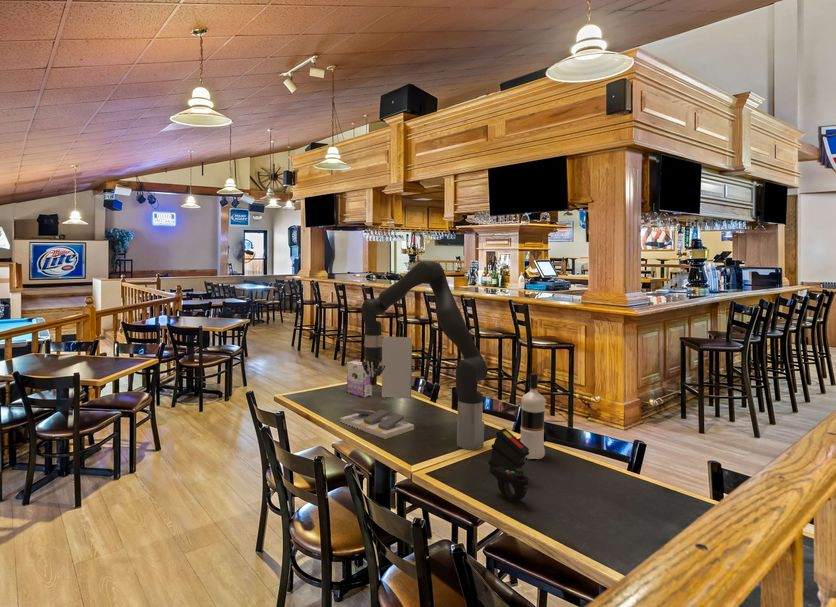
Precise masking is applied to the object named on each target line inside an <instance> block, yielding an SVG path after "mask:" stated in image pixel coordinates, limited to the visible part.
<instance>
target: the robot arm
mask: <svg viewBox="0 0 836 607" xmlns="http://www.w3.org/2000/svg"><path fill="white" fill-rule="evenodd" d="M420 285H429V287H430V289H431V291H432V293H433V295H434V297H435V315H436V318H437V322H438V323H439V326H440V328H441V331H442V332H443V334H444V335H445V336H446V338H448V339H449V340H450V341H451V342H452V343H453V344H454V345H455V346H456V348H457V349H459V351H460V353H461V355H462V358H463V359H462V360H461V359H460V360H459V362H458V363H457V364H456V368H455V391H456V394H457V425H456V426H457V428H456V429H457V430H456V432H457V433H456V446H457V447H458V448H461V449H465V450H473V451H476V450H478V449H480V448H482V446H483V447H484V446H485V421H484V420H483V402H484V401H483V400H484V396H483V393H482V392H481V391H478V388H477V387H478V386H477V382H481V381H483V380H485V379H486V378H487V375H488V366H487V363H486V361H485V358H484V357H483V356H482V353H481V352H480V350H479V348H478V347H477V345H476V343H475V341H474V339H473V337H472V336H471V335H472V334H471V333H470V331H469V329H468V326H467V324H466V321H465V319H464V317H463V315H462V312H461V310H460V308H459V307H458V305H457V302H456V299H455V297H454V295H453V293H452V291H451V289H450V285H449V283H448V280H447V276H446V272H445V270H444V268H443V266H442V265H441V264H440V263H439V262H437V261H434V260H426V259H425V260H422V261H419V262H418V263H417V264H416V265H414V266H413V267H412V268H410V270H409V271H408V272H407V273H405V275H403V276H402V277H401V278H400V279H399V280H397V281H396V282H395V283H393V284H391V285H390V286H389V287H387V288H385V289H383V291H381V292H380V293H379V295H378V297H376V298H368V299H365V300H364V301H363V302H362V304H361V309H360V310H361V315H362V318H363V322H364V357H365V358H364V359H365V361H363V362H362V361H361V362H362V365H363V367H364V370H365V372H366V374H368V375H369V376H370V385H372V387H373V386H376V385H377V383H378V379H377V378H378V377H379V376H382V372H383V370H384V368H385V365H382V338H383V337H382V332H383V331H382V322H380V321H379V320H377V317H376V316H379V315H381V314H383V313H385V312H386V311H387V310H388V309H389V308H391V306H393V305H395V304H396V303H398V302H400V301H401V300H403V298H405V297H406V295H407V294H408V292H410V290H411V289H414V288H415V287H417V286H420ZM367 369H368V370H367Z"/></svg>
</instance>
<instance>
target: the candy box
mask: <svg viewBox="0 0 836 607" xmlns="http://www.w3.org/2000/svg"><path fill="white" fill-rule="evenodd" d="M367 370H368V369H367ZM346 389H347V390H346V392H348V393H347V394H350V393H351V394H350V395H353V394H354V395H353V396H357V397H360V396H361V397H360V398H368V396H369V397H373V385H370V376H369V375H368V374H366V372H365V370H364V367H363V365H362V361H358V360H352V361H351V360H350V361H347V362H346Z"/></svg>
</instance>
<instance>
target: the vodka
mask: <svg viewBox="0 0 836 607" xmlns="http://www.w3.org/2000/svg"><path fill="white" fill-rule="evenodd" d="M529 379H530V380H529V381H530V382H529V384H530V385H529V386H530V387H529V391H528V392H527V393H525V394H524V395H523V396H521V400H520V401H521V406H520V408H521V419H520V420H521V421H520V422H521V423H520V439H519V441H520V442H522V443H523V444H524V445H525V446H526V447H527V448H528V449H529V451H528V452H529V455H527V456H526V457H525V459H526V458H527V460H530V459H538V460H541V459H543V458H544V457H545V455H546V449H545V443H544V442H545V441H544V440H545V439H544V436H545V429H544V428H545V411H546V399H545V397H544V395H542V394H541V393H540V392H538V385H539V384H538V383H539V374H538V373H533V372H532V373H530V378H529Z"/></svg>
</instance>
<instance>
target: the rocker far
mask: <svg viewBox="0 0 836 607" xmlns="http://www.w3.org/2000/svg"><path fill="white" fill-rule="evenodd" d="M350 412H351V413H353V414H356V413H357V414H367V415H371V414H373V413H375V412H376V411H374V412H373V410H370V409H364V408H363V409H362V408H361V409H360V408H350Z"/></svg>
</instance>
